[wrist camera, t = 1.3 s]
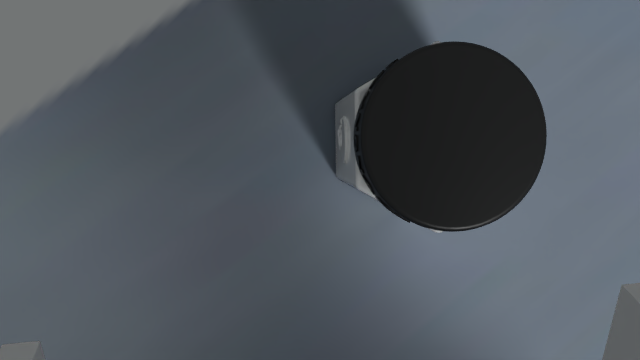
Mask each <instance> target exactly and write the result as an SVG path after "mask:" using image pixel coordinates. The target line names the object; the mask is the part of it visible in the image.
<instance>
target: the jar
mask: <svg viewBox="0 0 640 360" xmlns="http://www.w3.org/2000/svg"><path fill="white" fill-rule="evenodd" d="M546 137H547V135H546V122H545V116H544V112H543V108H542V105H541V102H540V99H539V97H538V95H537V93H536V91H535V89H534V87H533V86H532V84H531V82H530V81H529V80H528V78H527V77H526V76H525V74H524V73H523V72H522V71H521V70H520V69H519V68H518V67H517V66H516V65H515V64H514V63H513V62H511V61H510V60H509V59H507V58H506V57H504V56H503V55H501V54H500V53H498V52H496V51H494V50H492V49H489V48H487V47H484V46H481V45H477V44H473V43H467V42H439V41H436V42H434V43H432V44H430V45H428V46H425V47H422V48H420V49H417V50H415V51H413V52H411V53H409V54H407V55H406V56H404V57H403V58H401V59H400V60H398V59H396V60H395V61H393V62H392V63H391V64H389V65H388V66H387V67H386V70H383V71H382V72H381V73H380V74H379V75H378V76H377V77H375V78H374V79H372V80H370V81H369V82H367V83H365V84H364V85H362V86H360V87H359V88H357V89H356V90H354V91H353V92H351V93H350V94H348V95H347V96H345V97H344V98H342V99H341V100H339V101H338V102H336V104H335V138H336V177H337V178H338V179H339V180H341V181H343V182H345V183H347V184H348V185H350V186H352V187H354V188H356V189H357V190H359V191H361V192H363V193H365V194H366V195H368V196H370V197H372V198H374V199H375V200H377V201H379V202H381V203H382V204H383V205H384V207H385V208H387V209H388V210H389V211H391V212H392V213H393V214H395V215H396V216H398V217H400V218H402V219H403V220H405V221H407V222H409V223H410V221H411V222H413V223H415V224H417V225H420V226H422V227H425V228H428V229H430V230H432V231H434V232H436V233H441V232H443V231H465V230H471V229H475V228H479V227H482V226H485V225H487V224H490V223H492V222H494V221H496V220H498V219H499V218H501V217H503V216H504V215H506V214H507V213H508V212H510V211H511V210H512V209H513V208H514V207H515V206H517V205H518V204H519V203H520V202H521V200H522V199H523V198H524V197H525V196H526V194H527V193H528V192H529V190H530V189H531V187H532V186H533V184H534V182H535V180H536V178H537V176H538V174H539V172H540V169H541V166H542V163H543V159H544V155H545V149H546Z"/></svg>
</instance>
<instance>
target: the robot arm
mask: <svg viewBox="0 0 640 360" xmlns="http://www.w3.org/2000/svg"><path fill="white" fill-rule="evenodd" d="M0 360H45V356H44V353H43V349H42V346H41V342H40V341H34V342H24V343H13V344H3V345H2V346H1V348H0ZM602 360H640V283H635V284H625V285H622V286H621V290H620V293H619V297H618V301H617V305H616V309H615V313H614V316H613V320H612V324H611V328H610V332H609V336H608V340H607V343H606V347H605V351H604V355H603V359H602Z"/></svg>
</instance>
